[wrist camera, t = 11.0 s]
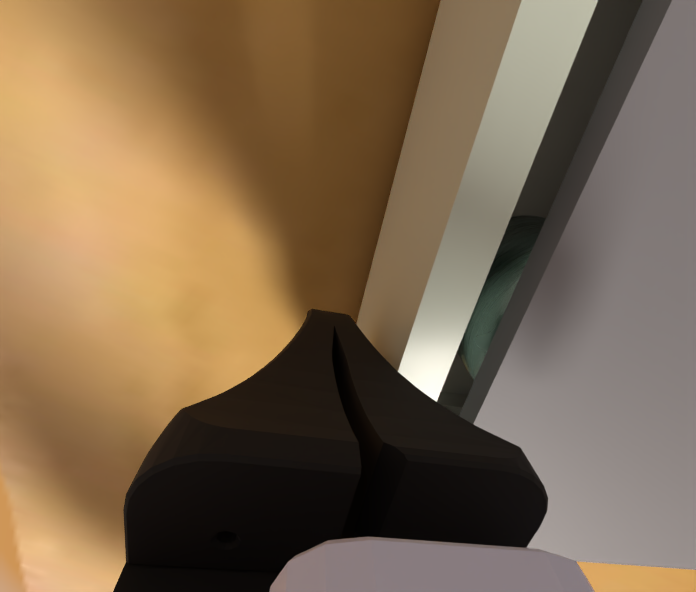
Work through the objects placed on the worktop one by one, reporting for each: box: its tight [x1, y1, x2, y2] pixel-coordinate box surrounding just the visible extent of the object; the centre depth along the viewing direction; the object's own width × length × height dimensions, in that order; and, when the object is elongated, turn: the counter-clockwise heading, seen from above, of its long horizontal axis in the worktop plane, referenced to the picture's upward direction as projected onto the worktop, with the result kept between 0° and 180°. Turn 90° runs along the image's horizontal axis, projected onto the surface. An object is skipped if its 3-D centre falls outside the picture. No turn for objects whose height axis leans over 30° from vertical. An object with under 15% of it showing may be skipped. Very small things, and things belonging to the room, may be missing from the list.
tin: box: [457, 215, 546, 381], centre depth 12 cm, size 5×5×4 cm
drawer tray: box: [356, 0, 642, 416], centre depth 11 cm, size 18×17×6 cm
